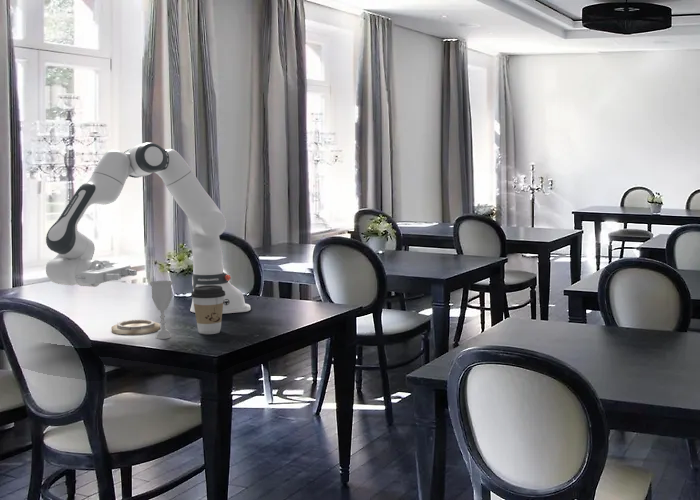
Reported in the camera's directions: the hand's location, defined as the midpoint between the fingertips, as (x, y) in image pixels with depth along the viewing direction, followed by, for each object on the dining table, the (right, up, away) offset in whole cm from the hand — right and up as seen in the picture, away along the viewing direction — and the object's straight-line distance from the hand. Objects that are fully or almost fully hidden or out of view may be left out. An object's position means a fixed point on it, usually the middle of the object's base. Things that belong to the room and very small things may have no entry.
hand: (127, 275), depth 277 cm
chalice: (+12, -20, -1) cm, 23 cm away
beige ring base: (0, -19, +10) cm, 22 cm away
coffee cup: (+26, -19, +6) cm, 33 cm away
